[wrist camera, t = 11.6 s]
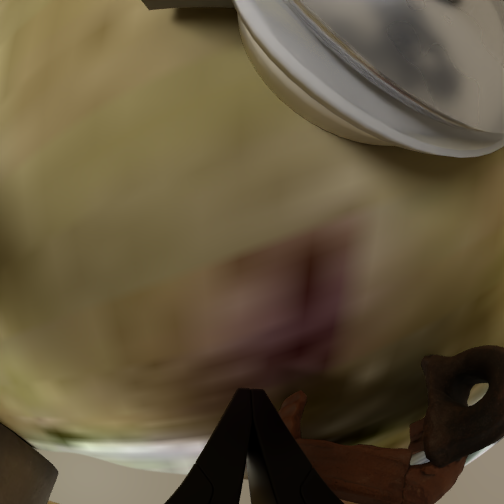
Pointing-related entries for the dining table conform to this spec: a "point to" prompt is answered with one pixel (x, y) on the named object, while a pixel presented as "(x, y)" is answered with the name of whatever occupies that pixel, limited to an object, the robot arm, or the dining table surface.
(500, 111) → the plunger
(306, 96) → the press
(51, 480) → the pillar candle
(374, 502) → the pottery mug
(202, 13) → the dining table surface
